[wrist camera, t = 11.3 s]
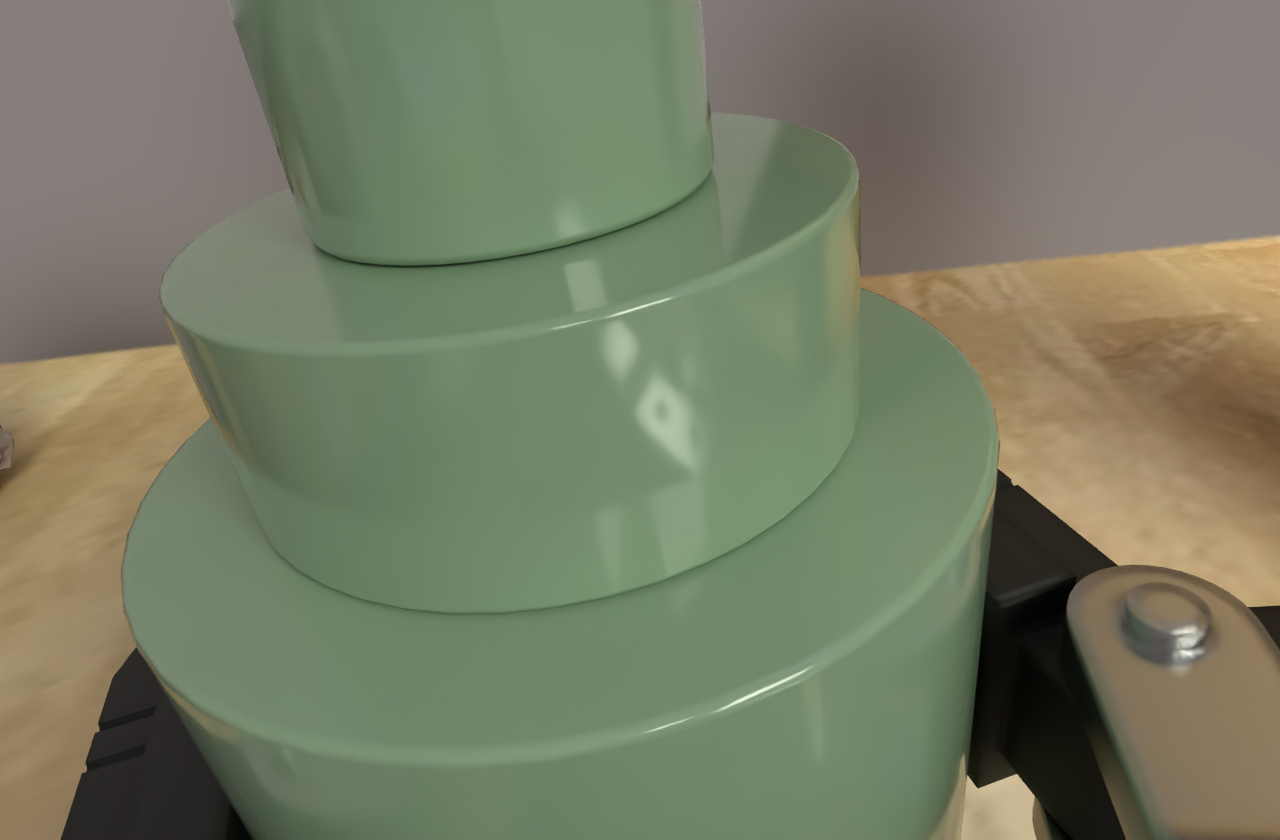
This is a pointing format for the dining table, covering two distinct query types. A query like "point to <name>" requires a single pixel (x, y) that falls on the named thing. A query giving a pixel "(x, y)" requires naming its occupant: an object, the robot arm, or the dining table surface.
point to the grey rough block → (5, 449)
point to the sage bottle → (558, 455)
